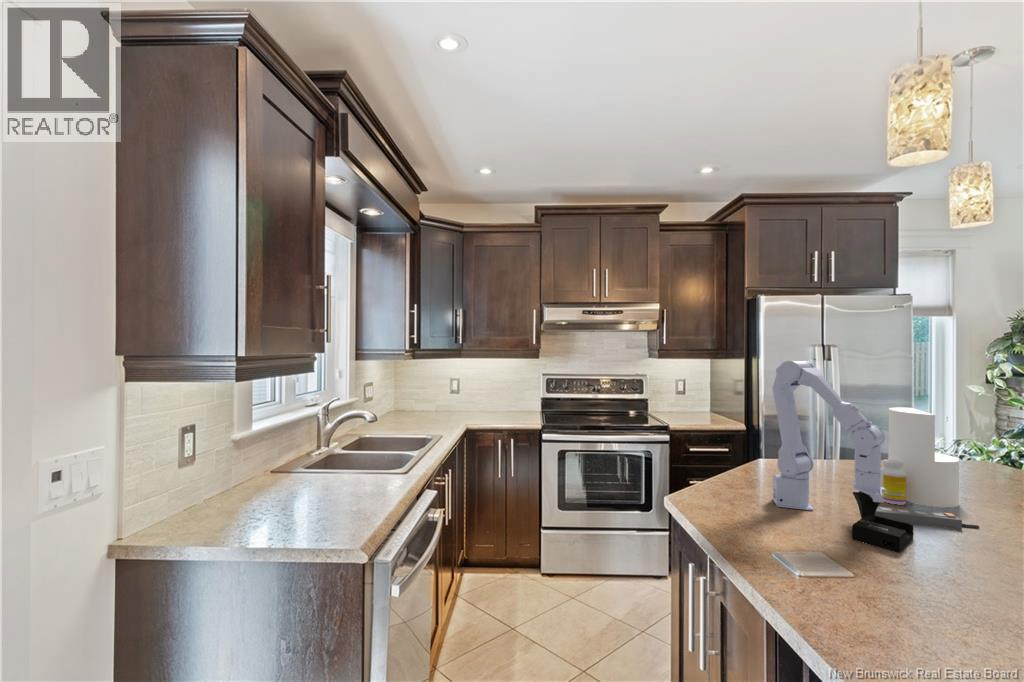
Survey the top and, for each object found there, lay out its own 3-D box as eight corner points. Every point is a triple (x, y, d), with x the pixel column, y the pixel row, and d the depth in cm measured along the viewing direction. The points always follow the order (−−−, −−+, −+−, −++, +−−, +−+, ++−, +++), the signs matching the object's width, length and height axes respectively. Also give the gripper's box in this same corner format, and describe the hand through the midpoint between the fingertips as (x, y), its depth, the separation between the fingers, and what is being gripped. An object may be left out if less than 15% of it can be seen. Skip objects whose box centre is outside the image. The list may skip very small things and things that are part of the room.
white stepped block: (899, 502, 147) (900, 413, 147) (880, 487, 163) (880, 406, 163) (970, 510, 141) (971, 417, 141) (943, 493, 157) (944, 409, 157)
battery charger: (899, 554, 112) (899, 537, 112) (851, 540, 119) (851, 524, 119) (913, 540, 120) (913, 524, 120) (867, 528, 127) (867, 513, 127)
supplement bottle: (911, 506, 144) (911, 464, 144) (886, 504, 145) (886, 463, 145) (897, 499, 151) (898, 459, 151) (874, 497, 152) (874, 457, 152)
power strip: (873, 519, 133) (873, 509, 133) (865, 513, 138) (866, 503, 138) (985, 531, 125) (985, 520, 125) (973, 525, 130) (973, 514, 130)
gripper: (897, 479, 120) (897, 532, 120) (873, 465, 134) (873, 513, 134) (864, 476, 122) (864, 529, 122) (844, 463, 136) (844, 510, 136)
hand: (867, 520), depth 128 cm, fingers closed
